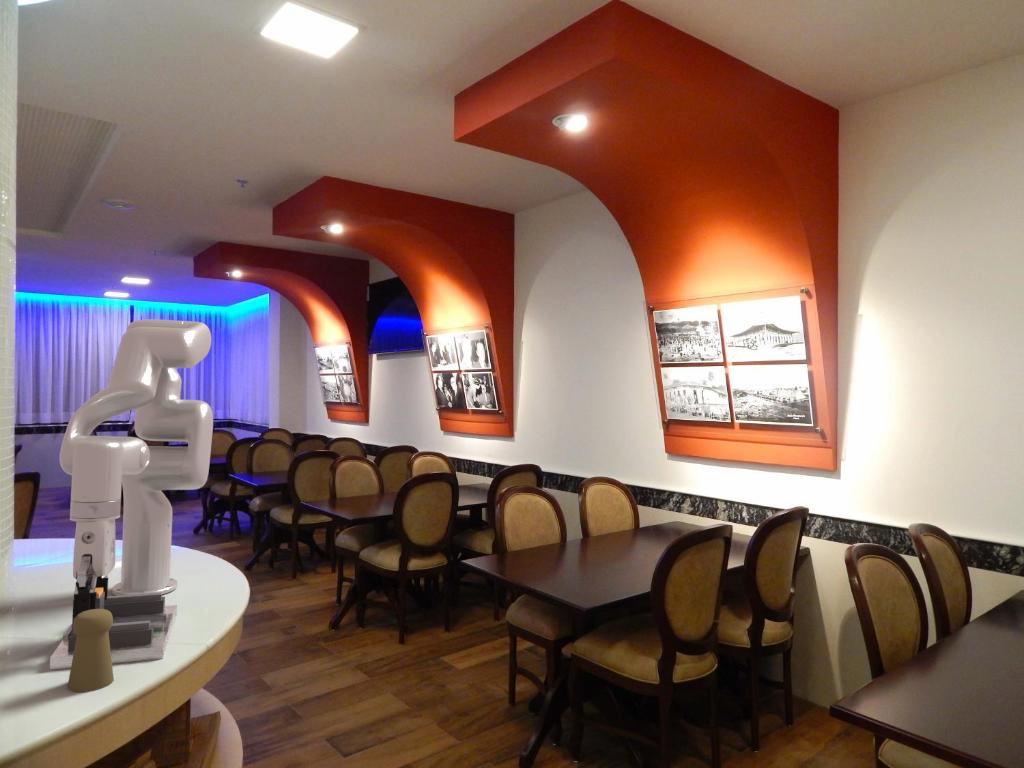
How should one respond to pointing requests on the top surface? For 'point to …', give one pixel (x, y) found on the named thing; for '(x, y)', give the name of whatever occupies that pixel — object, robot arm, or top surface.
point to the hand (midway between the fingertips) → (90, 608)
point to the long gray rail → (129, 630)
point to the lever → (98, 601)
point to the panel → (127, 653)
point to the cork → (91, 652)
